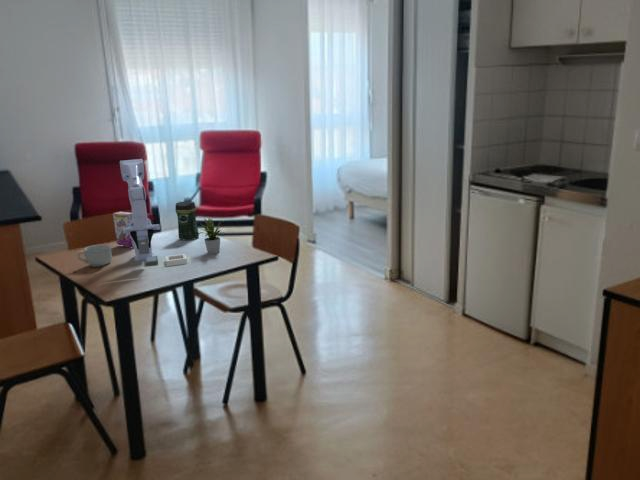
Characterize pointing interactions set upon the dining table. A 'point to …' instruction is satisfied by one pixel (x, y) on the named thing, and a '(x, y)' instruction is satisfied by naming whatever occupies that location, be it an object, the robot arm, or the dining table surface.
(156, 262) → the phone slab
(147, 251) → the plug
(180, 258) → the outlet plate
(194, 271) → the dining table surface
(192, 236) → the coffee jar
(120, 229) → the candy bar box
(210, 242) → the house plant
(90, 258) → the teacup
